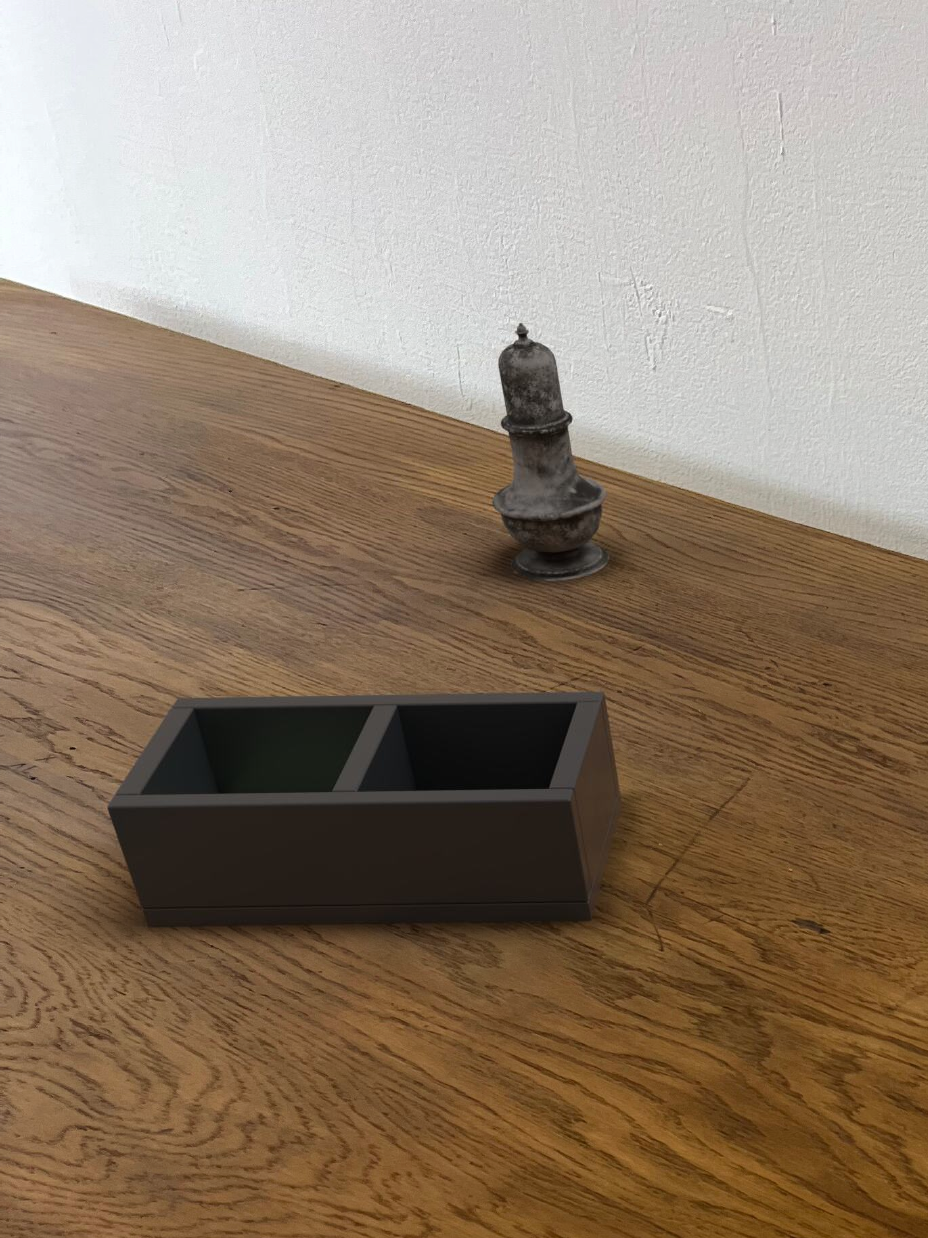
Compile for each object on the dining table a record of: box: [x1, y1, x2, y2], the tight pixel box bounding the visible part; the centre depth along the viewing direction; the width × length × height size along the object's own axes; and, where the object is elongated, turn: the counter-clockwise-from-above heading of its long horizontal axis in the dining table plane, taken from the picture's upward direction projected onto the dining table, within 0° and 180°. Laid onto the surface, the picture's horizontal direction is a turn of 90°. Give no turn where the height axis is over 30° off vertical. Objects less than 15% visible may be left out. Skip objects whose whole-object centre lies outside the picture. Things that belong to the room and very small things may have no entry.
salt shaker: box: [491, 322, 610, 582], centre depth 106 cm, size 6×6×12 cm
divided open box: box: [106, 691, 624, 928], centre depth 85 cm, size 10×18×6 cm, turn 90°
